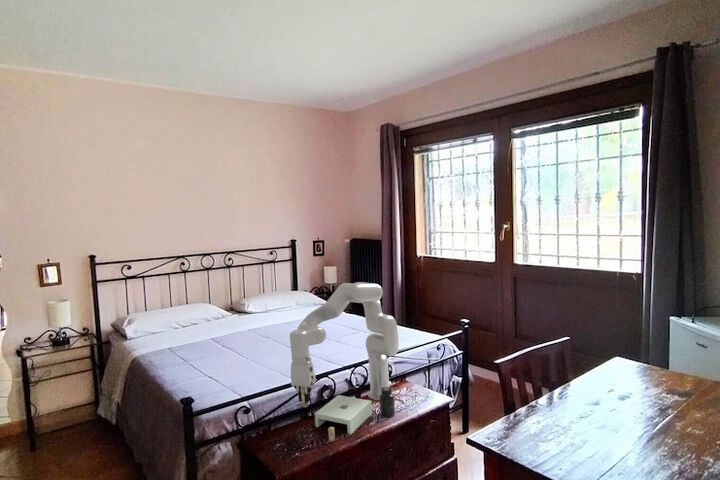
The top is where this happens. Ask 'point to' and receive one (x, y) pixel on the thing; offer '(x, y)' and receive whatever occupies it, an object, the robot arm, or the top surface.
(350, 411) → the plate
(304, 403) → the long birch pin
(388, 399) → the supplement bottle
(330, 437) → the short birch pin
